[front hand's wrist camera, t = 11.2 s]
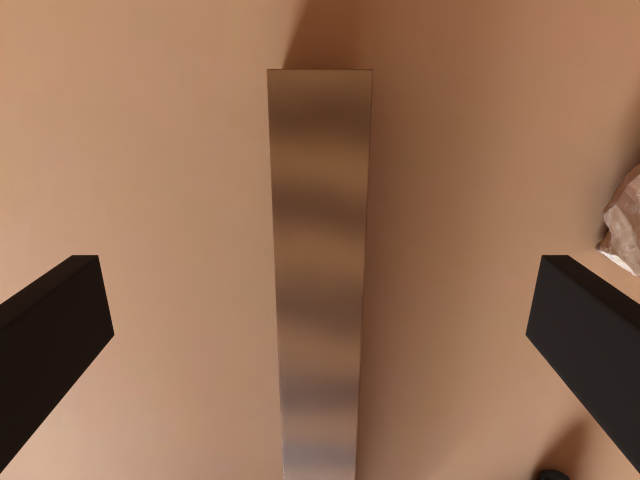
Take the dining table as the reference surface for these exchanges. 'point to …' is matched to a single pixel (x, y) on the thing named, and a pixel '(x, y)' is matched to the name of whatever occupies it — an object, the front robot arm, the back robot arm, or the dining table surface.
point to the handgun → (553, 475)
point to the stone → (624, 224)
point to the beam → (319, 261)
